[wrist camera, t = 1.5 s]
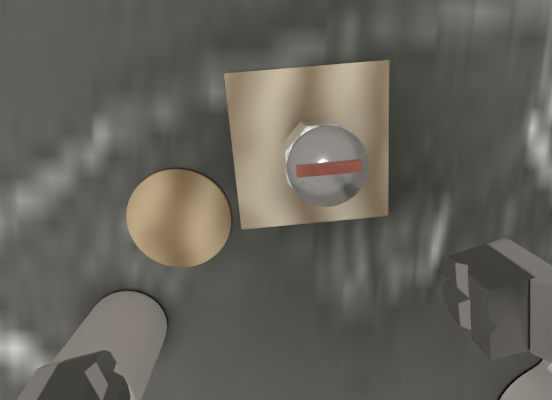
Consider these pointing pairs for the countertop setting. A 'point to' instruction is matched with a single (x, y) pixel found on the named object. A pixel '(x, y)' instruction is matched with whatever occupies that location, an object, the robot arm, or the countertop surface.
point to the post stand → (281, 122)
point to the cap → (324, 162)
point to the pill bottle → (122, 336)
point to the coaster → (179, 217)
